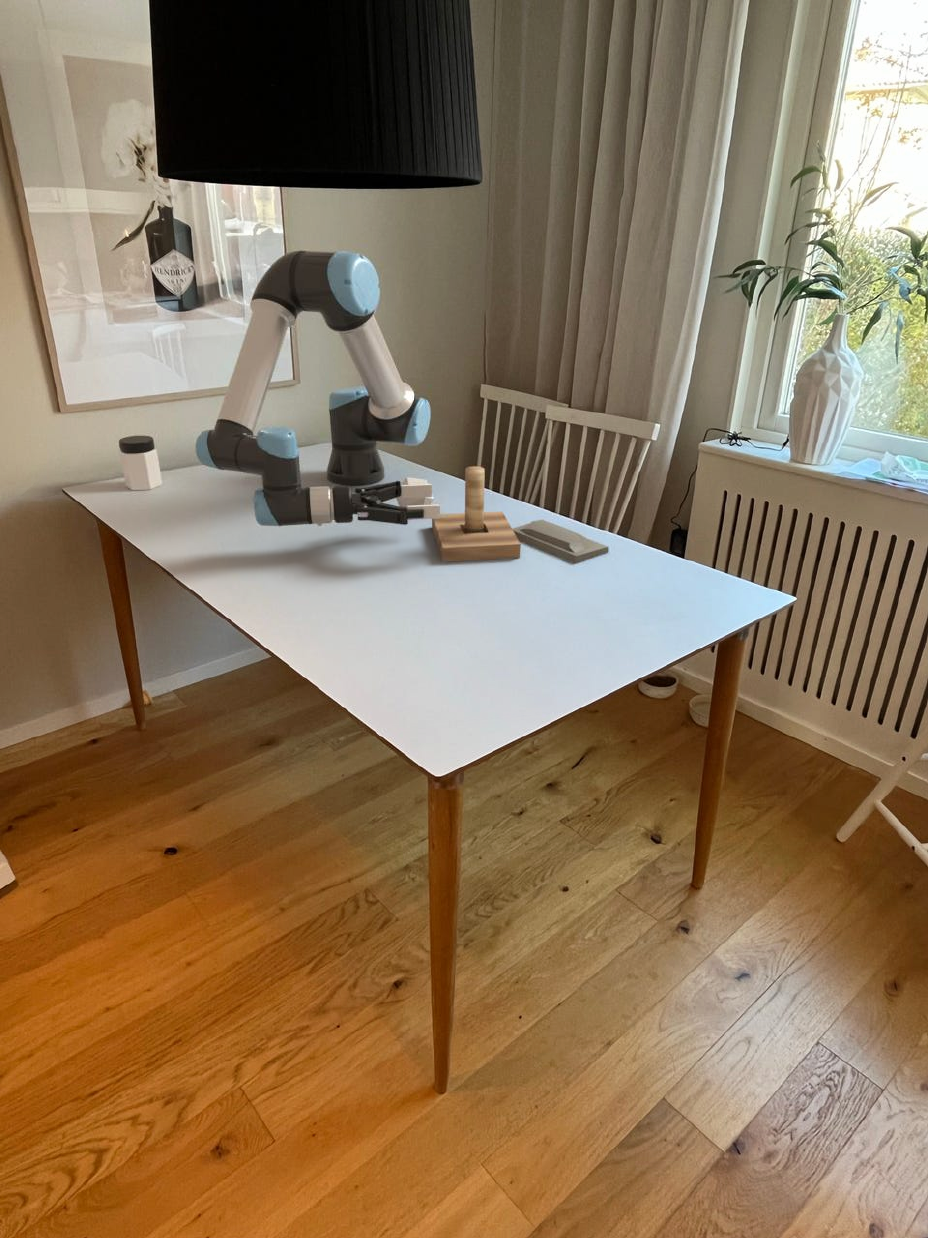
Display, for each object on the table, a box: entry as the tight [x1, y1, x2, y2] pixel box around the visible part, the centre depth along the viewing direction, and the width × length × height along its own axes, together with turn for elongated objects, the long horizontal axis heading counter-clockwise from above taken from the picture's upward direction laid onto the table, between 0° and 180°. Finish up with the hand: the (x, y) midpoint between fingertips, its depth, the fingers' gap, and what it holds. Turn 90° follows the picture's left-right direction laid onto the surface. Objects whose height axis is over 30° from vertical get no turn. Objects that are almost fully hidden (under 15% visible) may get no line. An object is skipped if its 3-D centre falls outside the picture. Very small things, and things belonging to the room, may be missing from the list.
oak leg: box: [464, 466, 486, 534], centre depth 167 cm, size 4×4×16 cm
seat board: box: [431, 511, 522, 563], centre depth 170 cm, size 20×16×3 cm
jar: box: [118, 435, 163, 492], centre depth 201 cm, size 9×8×12 cm
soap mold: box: [512, 519, 610, 564], centre depth 170 cm, size 10×20×4 cm, turn 40°
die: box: [395, 476, 435, 508], centre depth 186 cm, size 8×9×10 cm
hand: (435, 500), depth 166 cm, fingers open, 13 cm apart
